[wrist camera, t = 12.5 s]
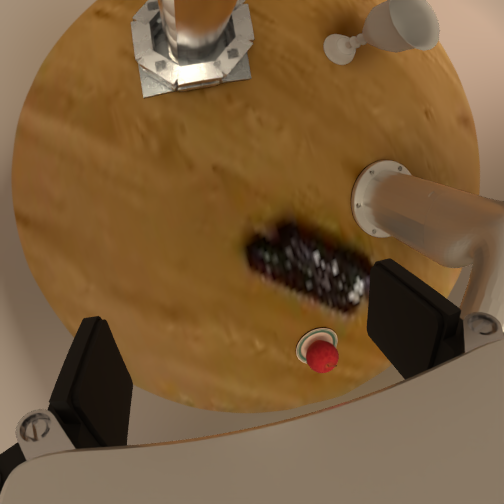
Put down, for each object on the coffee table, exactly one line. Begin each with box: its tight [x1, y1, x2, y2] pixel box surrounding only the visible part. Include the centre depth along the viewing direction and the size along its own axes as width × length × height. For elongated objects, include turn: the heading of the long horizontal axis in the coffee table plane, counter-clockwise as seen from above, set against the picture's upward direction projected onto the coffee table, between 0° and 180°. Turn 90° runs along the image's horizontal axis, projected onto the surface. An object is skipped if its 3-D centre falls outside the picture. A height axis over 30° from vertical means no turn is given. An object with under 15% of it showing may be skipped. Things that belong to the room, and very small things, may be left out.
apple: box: [296, 328, 339, 373], centre depth 53 cm, size 8×8×6 cm
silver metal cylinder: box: [158, 0, 237, 66], centre depth 22 cm, size 6×6×25 cm
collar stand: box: [131, 0, 255, 98], centre depth 31 cm, size 14×13×8 cm
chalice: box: [324, 0, 440, 65], centre depth 30 cm, size 7×7×18 cm
